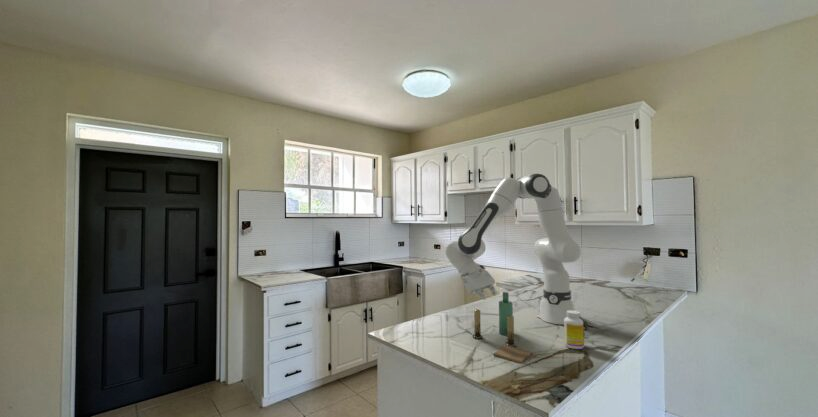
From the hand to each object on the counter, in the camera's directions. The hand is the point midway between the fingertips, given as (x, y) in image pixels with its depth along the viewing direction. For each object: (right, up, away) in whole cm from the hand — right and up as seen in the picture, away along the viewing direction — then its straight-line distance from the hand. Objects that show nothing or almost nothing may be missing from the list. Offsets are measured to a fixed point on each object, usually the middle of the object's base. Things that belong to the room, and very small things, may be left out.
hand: (491, 296), depth 144 cm
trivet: (+1, -13, -27) cm, 30 cm away
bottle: (+5, -14, -5) cm, 16 cm away
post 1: (-8, -14, -10) cm, 19 cm away
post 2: (+3, -14, -18) cm, 23 cm away
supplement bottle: (+27, -14, -20) cm, 36 cm away
